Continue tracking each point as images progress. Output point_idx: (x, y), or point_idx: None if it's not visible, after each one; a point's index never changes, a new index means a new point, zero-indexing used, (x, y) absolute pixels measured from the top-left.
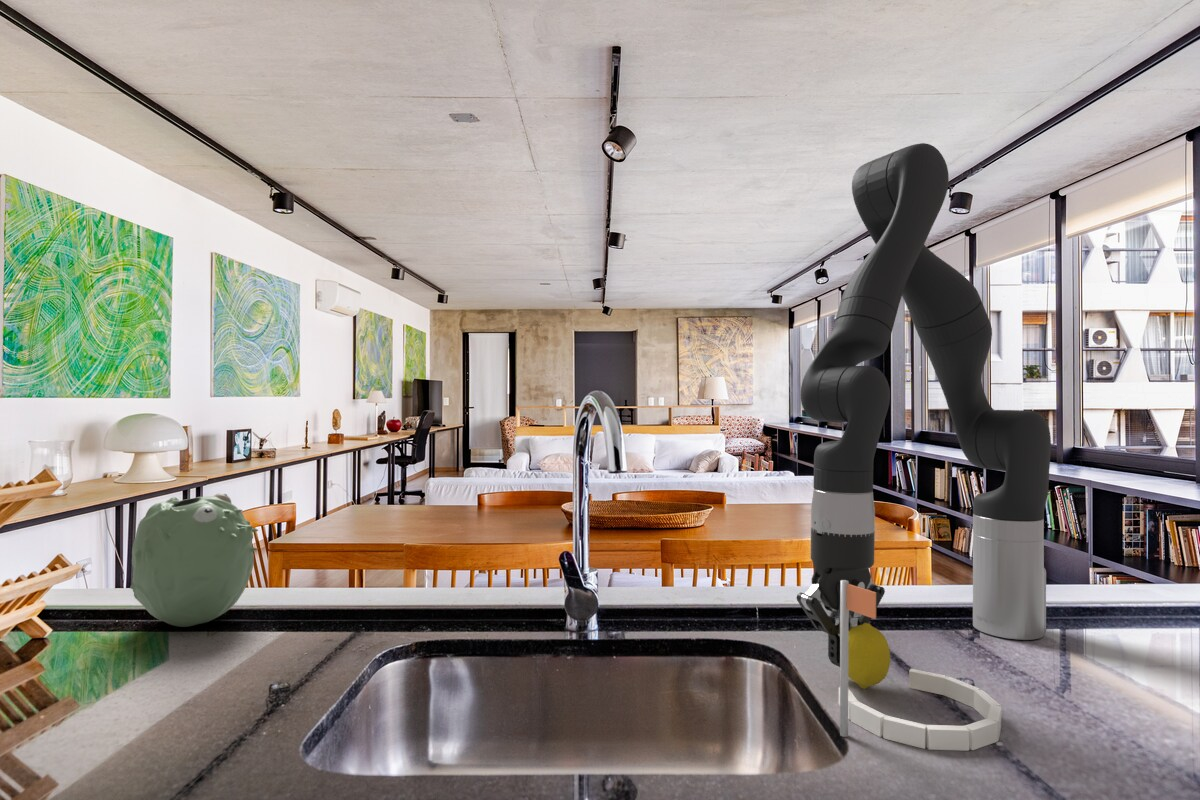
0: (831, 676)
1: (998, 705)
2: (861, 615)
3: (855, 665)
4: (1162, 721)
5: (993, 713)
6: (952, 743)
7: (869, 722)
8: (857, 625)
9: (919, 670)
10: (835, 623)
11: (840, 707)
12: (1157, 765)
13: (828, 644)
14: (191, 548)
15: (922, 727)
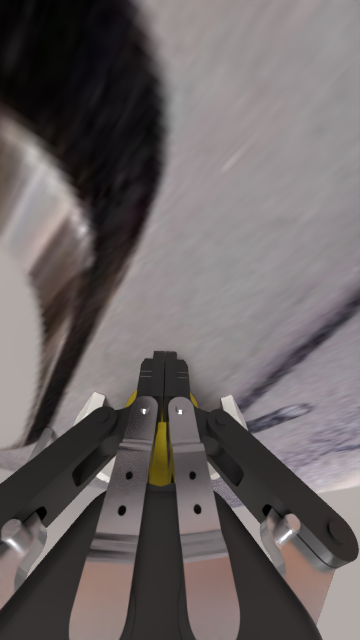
0: (158, 333)
1: (213, 479)
2: (217, 466)
3: None
4: (319, 486)
5: None
6: None
7: None
8: (155, 479)
9: (240, 422)
10: (169, 413)
11: (27, 461)
12: (235, 501)
13: (138, 382)
14: None
15: (102, 479)
